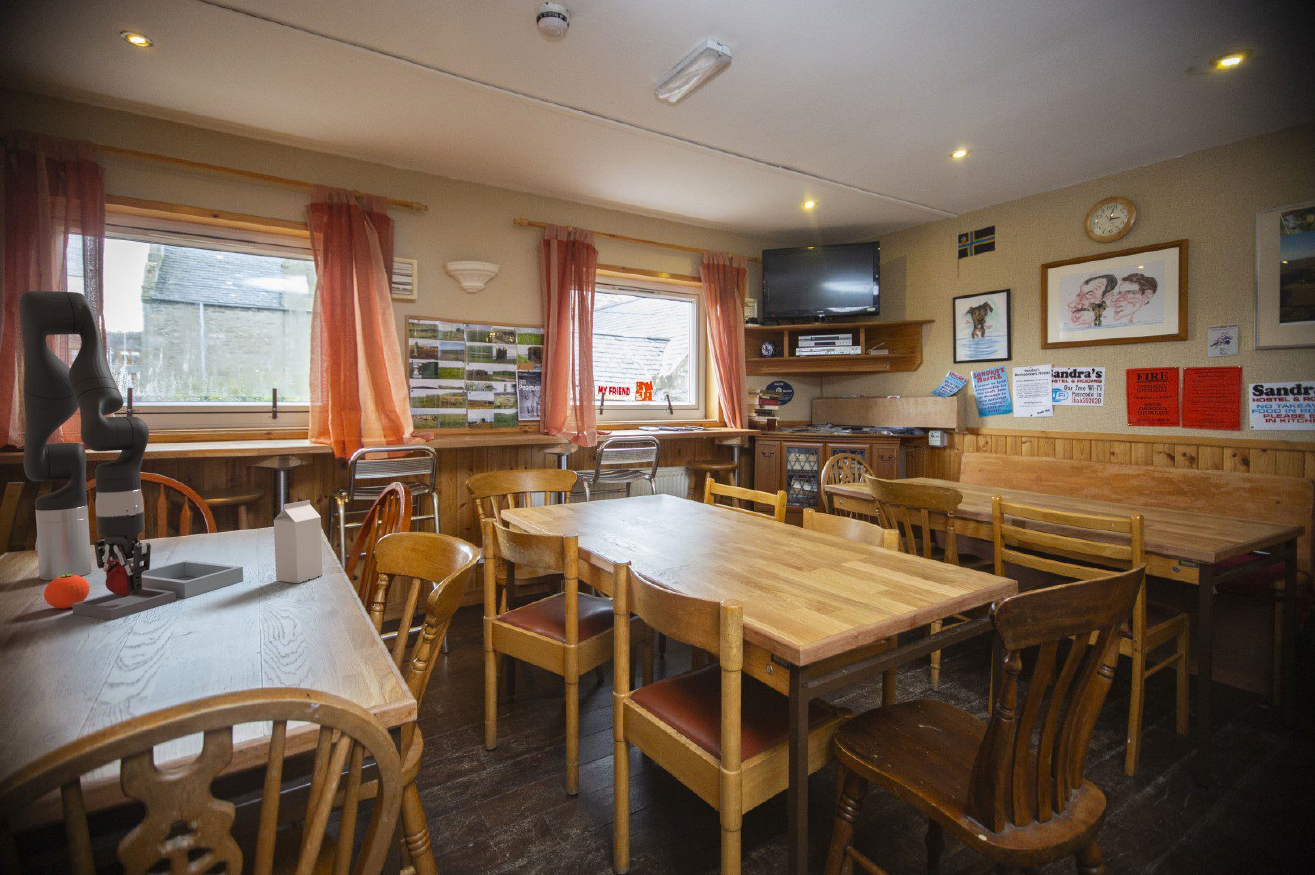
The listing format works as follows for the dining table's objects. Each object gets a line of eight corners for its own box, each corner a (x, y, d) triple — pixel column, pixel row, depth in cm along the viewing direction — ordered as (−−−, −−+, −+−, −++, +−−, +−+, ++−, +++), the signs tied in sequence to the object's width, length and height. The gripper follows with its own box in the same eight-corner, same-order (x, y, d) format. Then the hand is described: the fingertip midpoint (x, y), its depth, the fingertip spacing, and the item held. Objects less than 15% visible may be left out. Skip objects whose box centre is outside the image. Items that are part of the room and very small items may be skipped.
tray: (72, 613, 124) (72, 603, 124) (138, 595, 135) (137, 586, 135) (111, 620, 120) (111, 610, 120) (175, 600, 132) (175, 591, 132)
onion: (150, 593, 130) (148, 557, 130) (124, 602, 125) (122, 564, 124) (125, 592, 131) (123, 556, 130) (98, 601, 125) (96, 563, 125)
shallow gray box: (125, 589, 139) (124, 575, 139) (186, 573, 152) (185, 560, 152) (185, 598, 133) (184, 582, 133) (243, 581, 146) (242, 566, 146)
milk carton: (323, 576, 150) (320, 500, 149) (297, 584, 144) (294, 505, 142) (301, 573, 153) (298, 499, 151) (275, 581, 146) (272, 503, 145)
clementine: (44, 606, 128) (41, 573, 128) (88, 598, 133) (86, 567, 133) (45, 615, 123) (43, 581, 122) (92, 607, 128) (90, 574, 127)
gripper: (76, 512, 125) (81, 592, 126) (122, 517, 121) (127, 599, 122) (117, 506, 132) (122, 581, 134) (163, 510, 128) (167, 588, 129)
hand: (124, 589), depth 128 cm, fingers closed on onion, 6 cm apart
